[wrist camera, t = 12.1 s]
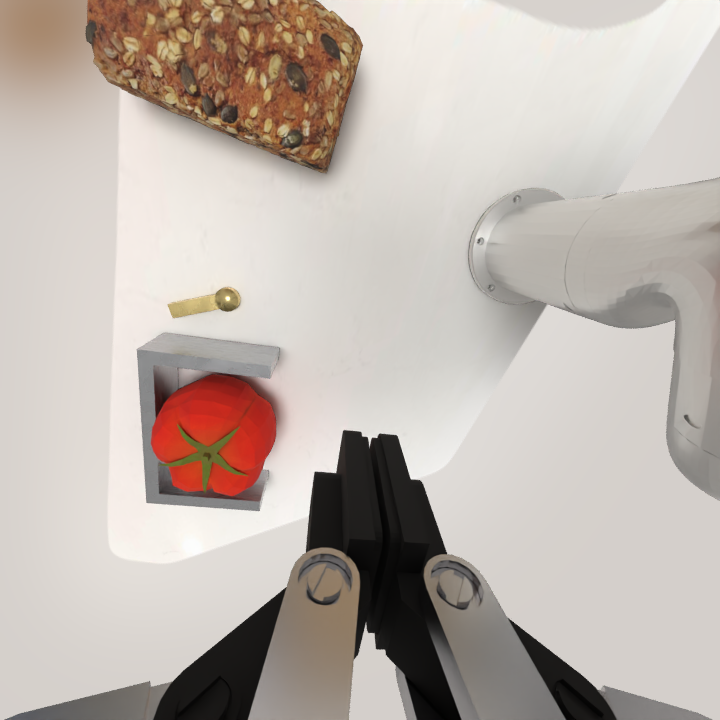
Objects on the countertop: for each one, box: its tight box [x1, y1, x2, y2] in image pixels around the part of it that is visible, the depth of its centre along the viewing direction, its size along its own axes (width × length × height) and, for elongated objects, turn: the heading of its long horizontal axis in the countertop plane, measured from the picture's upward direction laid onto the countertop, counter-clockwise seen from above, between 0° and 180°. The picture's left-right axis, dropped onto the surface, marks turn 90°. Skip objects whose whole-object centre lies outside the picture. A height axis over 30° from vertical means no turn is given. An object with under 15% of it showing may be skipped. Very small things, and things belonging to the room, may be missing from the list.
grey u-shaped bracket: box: [137, 333, 279, 511], centre depth 42 cm, size 14×20×6 cm
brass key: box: [168, 287, 240, 318], centre depth 40 cm, size 8×3×1 cm, turn 101°
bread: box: [86, 0, 363, 173], centre depth 29 cm, size 19×11×10 cm, turn 70°
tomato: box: [151, 374, 276, 496], centre depth 40 cm, size 14×13×10 cm
